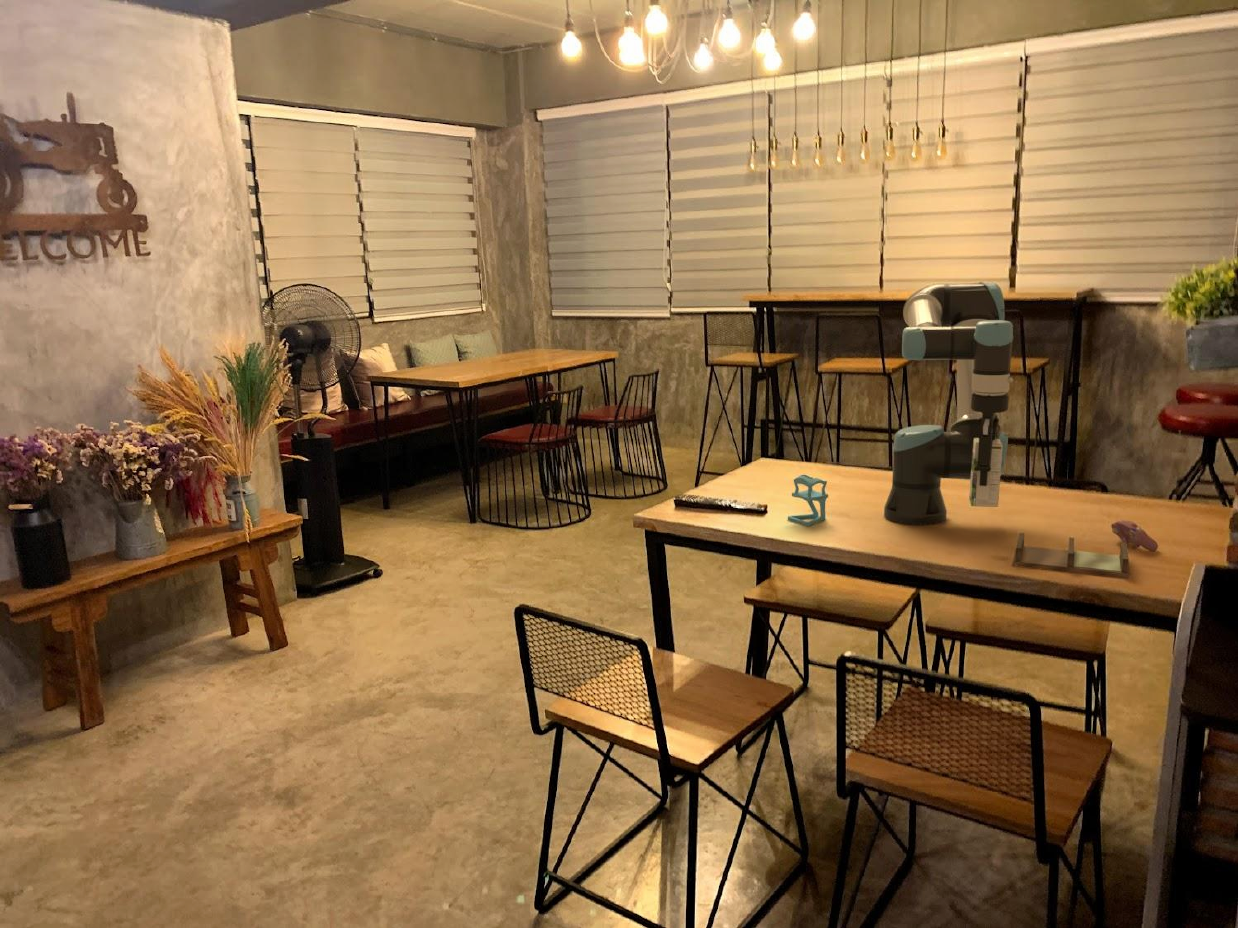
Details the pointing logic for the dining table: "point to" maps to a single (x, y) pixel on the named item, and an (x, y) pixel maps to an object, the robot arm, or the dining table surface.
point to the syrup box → (995, 475)
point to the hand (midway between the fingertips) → (984, 494)
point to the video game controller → (1133, 535)
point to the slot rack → (1072, 560)
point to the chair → (810, 499)
